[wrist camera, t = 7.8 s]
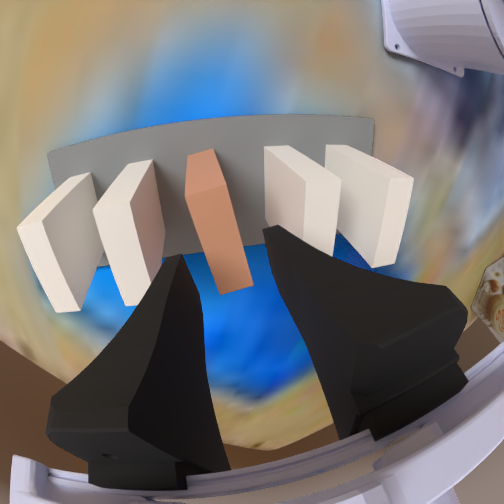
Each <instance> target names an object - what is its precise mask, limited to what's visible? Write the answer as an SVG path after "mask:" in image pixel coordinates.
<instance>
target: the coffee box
mask: <svg viewBox="0 0 504 504" xmlns="http://www.w3.org/2000/svg"><path fill="white" fill-rule="evenodd" d="M471 308H472V309H473V310H474V312H475V313H476V314H477V315H478V316H479V317H480V318H481V320H482V321H483V322H484V323H485V324H486V326H487V327H488V328H489V329H490V331H491V332H492V333H493V334H494V336H495V337H496V338H497V339H498V341H499V342H500V343H502V342H503V341H504V257H502V258H501V259H499V260H498V261H496V262H495V263H493V264H492V265H490V266H489V267H487V268H486V270H485V273H484V275H483V278H482V281H481V283H480V286H479V289H478V291H477V294H476V296H475V298H474V301H473V303H472V306H471Z"/></svg>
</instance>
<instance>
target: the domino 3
mask: <svg viewBox="0 0 504 504" xmlns="http://www.w3.org/2000/svg"><path fill="white" fill-rule="evenodd" d="M185 199H186V202H187V205H188V208H189V211H190V214H191V217H192V219H193V222H194V225H195V228H196V231H197V234H198V236H199V239H200V242H201V245H202V248H203V250H204V253H205V256H206V259H207V261H208V264H209V267H210V269H211V272H212V275H213V277H214V280H215V283H216V285H217V288H218V290H219V293H220V295H222V294H225V293H229V292H232V291H236V290H239V289H243V288H246V287H250V286H253V281H252V278H251V274H250V270H249V267H248V263H247V259H246V255H245V252H244V248H243V244H242V241H241V237H240V233H239V230H238V226H237V222H236V218H235V215H234V211H233V207H232V203H231V200H230V196H229V192H228V188H227V185H226V182H225V179H224V176H223V174H222V171H221V168H220V166H219V163H218V160H217V157H216V155H215V152H214V149H209V150H206V151H202V152H199V153H195V154H192V155H189V156H187V169H186V183H185Z"/></svg>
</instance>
